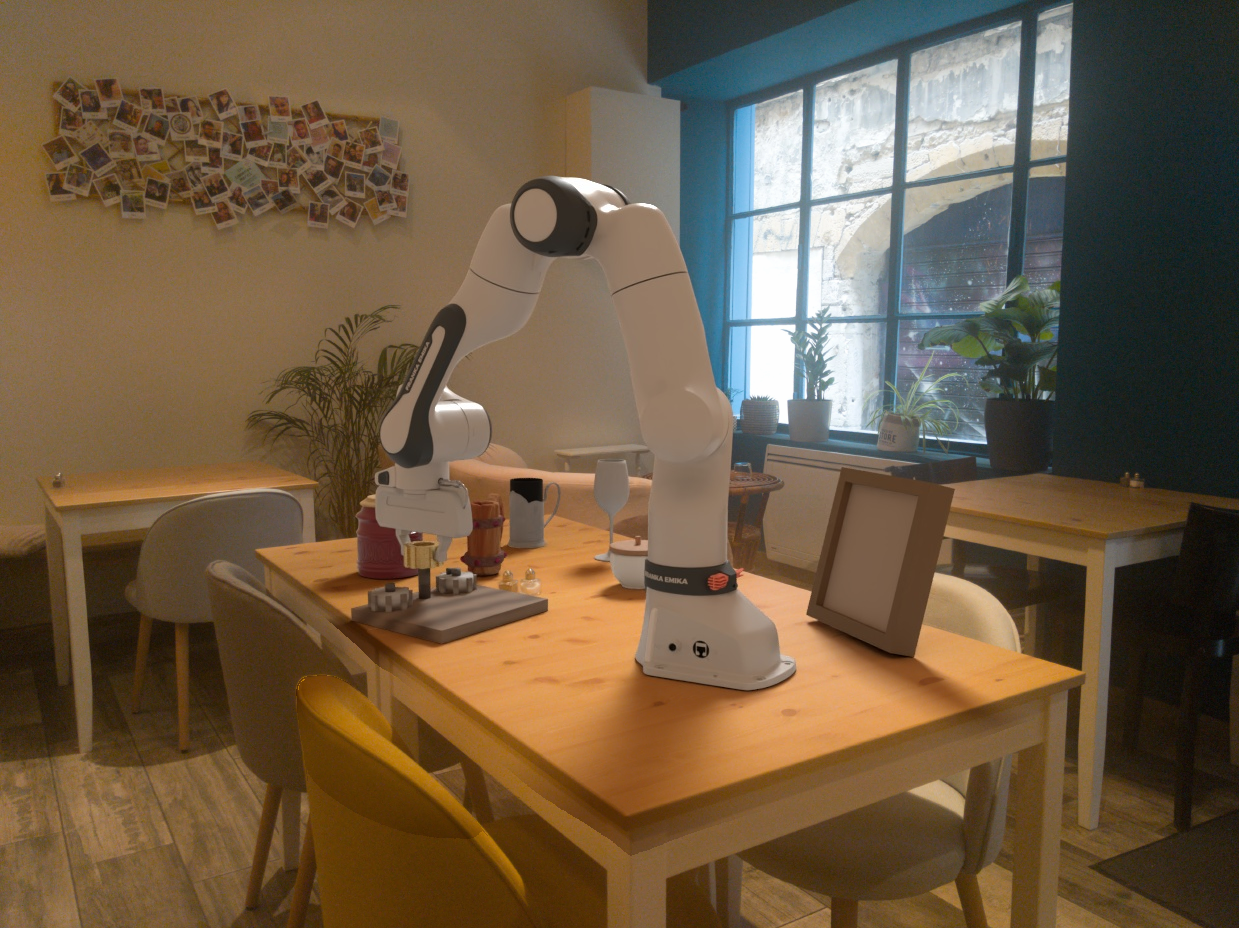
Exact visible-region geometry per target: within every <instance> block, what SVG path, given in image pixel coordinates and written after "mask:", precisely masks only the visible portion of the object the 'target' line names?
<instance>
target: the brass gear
mask: <svg viewBox="0 0 1239 928" xmlns="http://www.w3.org/2000/svg"><path fill="white" fill-rule="evenodd" d="M439 543H440V542H437V540H431V541H430V540H423V541H413V542H411V543H410V542H408V543H406V544H404V566H405V567H407V568H408V567H411V568H412V569H416V568H420V569H425V568H430V569H435V568H436V567H437V568H441V567H442V566H444V564H445V563H444V562H436V561H434V560H433V557H434V556H433V551H437V548H438V545H439Z"/></svg>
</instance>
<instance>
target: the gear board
mask: <svg viewBox="0 0 1239 928" xmlns="http://www.w3.org/2000/svg"><path fill="white" fill-rule="evenodd" d="M417 576H418V577H417V581H418V584H417V585H418V591H416V592H413V589H410V587H407V586H403V587H402V586H396V583H395V582H387V583H385V584H384V587H375V588H373V590H369V591H367V604H364V605H360V606H355V607H352V608H350V613H351V614H350V619H351V621H353V622H356V623H360V624H364V625H367V626H371V627H375V628H379V629H382V630H386V631H387V630H388V631H391V632H394V633H399V634H402V635H406V636H409V637H414V638H417V639H421V640H425V641H428V642H429V641H430V642H433V643H436V644H437V643H438V644H446V643H450V642H453V641H455V640H459V639H463V638H465V637H468V636H471V635H474V634H475V635H476V634H477V633H481V632H483V631H487V630H491V629H493V628H497V627H500V626H503V625H506V624H509V623H512V622H515V621H519V620H522V619H525V618H529V617H532V616H535V615H538V614H541V613H544V612H547V611H549V598H545V597H540V596H535V595H530V594H526V593H520V592H515V591H510V590H505V589H501V588H495V587H491V586H487V585H486V586H485V585H480V584H478V583H477V582H478V581H477V580H478V579H477V576H478V575H477V574H473V572H468V571H462V568H461V567H446V568H445V571H443V572H440V574H437V575H435V587H431V585H432V583H431V568H425V569H420V568H418V574H417Z"/></svg>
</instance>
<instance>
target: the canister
mask: <svg viewBox="0 0 1239 928" xmlns="http://www.w3.org/2000/svg"><path fill="white" fill-rule="evenodd" d="M375 494H376V493H375ZM375 494H371V495H370V494H369V495H367V497H366V498H364V499H363V500H361V501H360V502H359V505H360V506H362V507H361V509H360V510H359V511H358V512H356V513H355V518H356V519H357V520H358V528H357V530H356V531H355V534H356V540H357V541H356V542H357V543H356V545H357V547H356V549H357V560H356V568H357V572H358V575H359V576H361V577H364V578H367V579H375V580H376V579H377V580H378V579H379V580H388V579H389V580H391V579H392V580H393V579H405V578H409V577H413V576H414V577H415V576H418V568H416V569H412V568H411V567H408V568H407V567H405V566H404V555H402V554H401V545H400V543H399V541H398V539H397V536H396V529H394V528H388V527H382V526H380V525H379V524H378V522H377V520H376V512H375ZM408 535H409V538H410V541H411V542H413V541H424V533H419V532H413V531H411V534H408Z"/></svg>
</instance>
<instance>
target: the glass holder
mask: <svg viewBox="0 0 1239 928" xmlns="http://www.w3.org/2000/svg"><path fill="white" fill-rule="evenodd" d="M551 485H555V486H556V487H557V501H556V505H555V508H554V510H553V511H552V513H551V515H550V516H549V517H548V519H547V520H546V521H545V513H544V511H545V507H544V506H545V504H544V503H545V502H546V501H547V498H548V491H549V488H550V486H551ZM561 493H562V492H561V487H560V485H559V484H558V483H557V482H553V481H552V482H549V483H547V485H546V486H545V489H544V479H543V478H537V477H515V478H511V479H509V495H508V496H509V497H508V499H509V500H508V501H509V502H508V503H509V511H508V512H509V515H508V516H509V519H508V520H509V523H508V524H509V540H508V543H507V546H508V547H510V548H516V549H535V548H542V547H545V546H546V545H547V544H546V543H547V542H546V541H545V537H544V536H545V528H546V527H547V526H548V524H549V523H550V522H551V521H552V519H553V518H554V516H555V515H556V513H557V512H558V509H559V506H560V502H561V495H562V494H561Z"/></svg>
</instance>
